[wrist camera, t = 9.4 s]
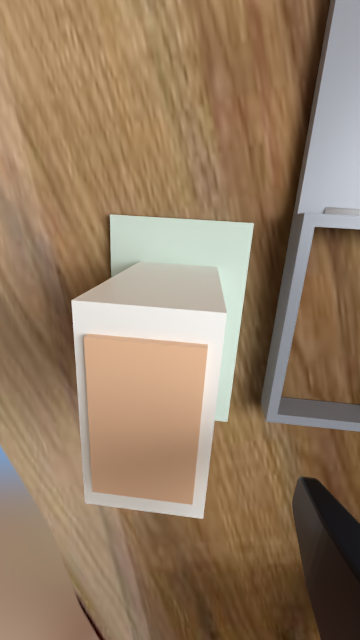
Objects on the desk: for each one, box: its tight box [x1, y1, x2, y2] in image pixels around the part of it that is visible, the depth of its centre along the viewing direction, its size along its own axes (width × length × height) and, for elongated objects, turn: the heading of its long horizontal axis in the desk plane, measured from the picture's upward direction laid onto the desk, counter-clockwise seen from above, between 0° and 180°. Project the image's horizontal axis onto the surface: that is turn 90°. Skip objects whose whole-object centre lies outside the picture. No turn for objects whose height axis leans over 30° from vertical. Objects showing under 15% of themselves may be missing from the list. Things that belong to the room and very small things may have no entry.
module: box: [71, 261, 227, 519], centre depth 14 cm, size 4×8×9 cm, turn 177°
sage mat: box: [110, 215, 254, 422], centre depth 18 cm, size 8×13×1 cm, turn 177°
